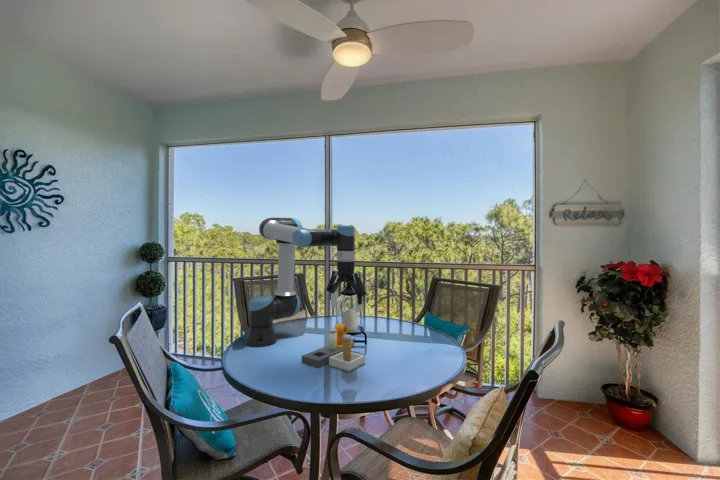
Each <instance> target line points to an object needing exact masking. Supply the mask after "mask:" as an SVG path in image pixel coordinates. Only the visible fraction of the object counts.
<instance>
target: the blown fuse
mask: <svg viewBox="0 0 720 480" xmlns="http://www.w3.org/2000/svg"><path fill="white" fill-rule="evenodd" d="M351 341H352V335H351V334H347V333H346V335H343V361H347V362H350V361H351V352H352V348H351Z"/></svg>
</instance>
